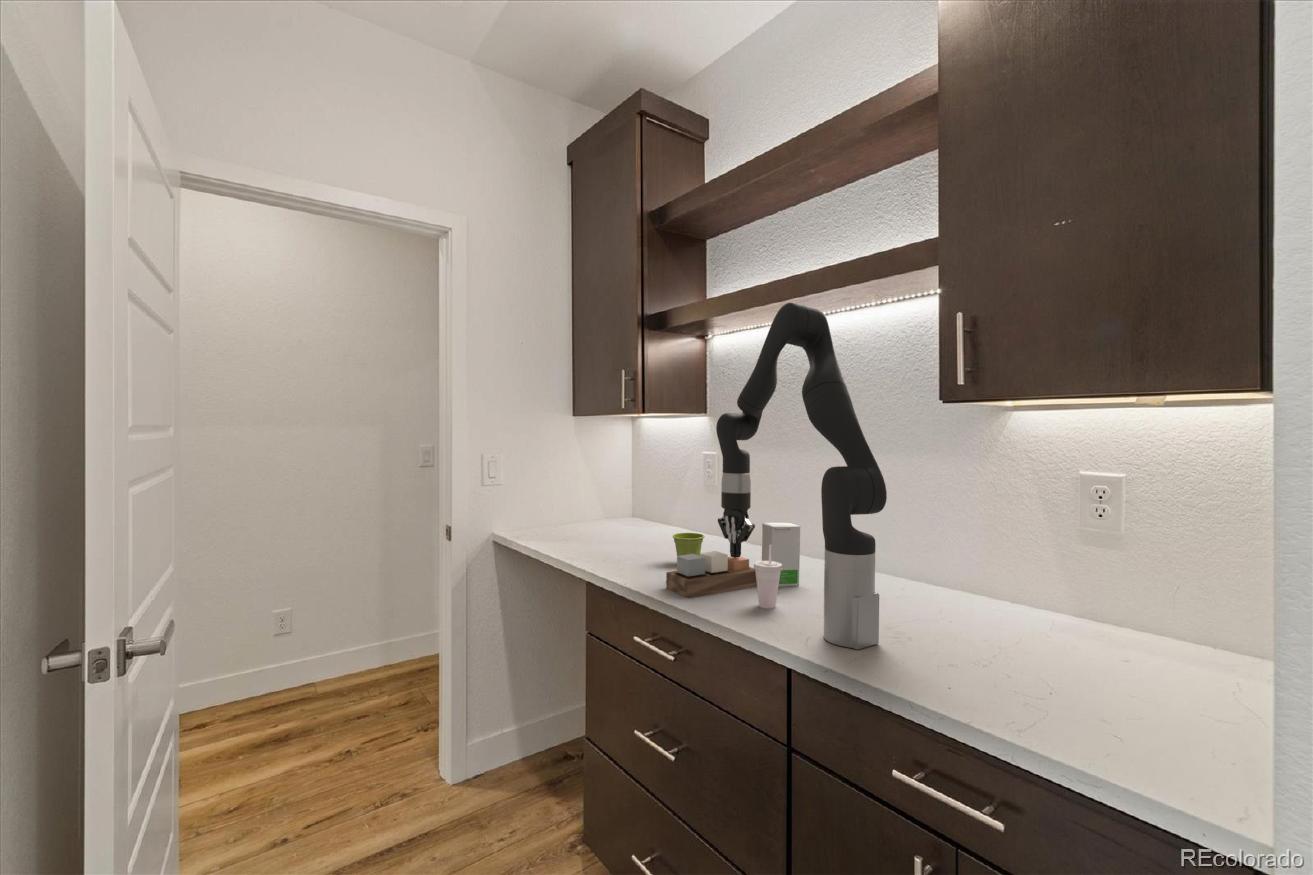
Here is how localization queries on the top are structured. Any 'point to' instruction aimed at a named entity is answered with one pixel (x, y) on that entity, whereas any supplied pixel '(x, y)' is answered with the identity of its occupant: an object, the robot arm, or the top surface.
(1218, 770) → the top surface
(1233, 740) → the top surface
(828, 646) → the top surface
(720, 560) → the key cream
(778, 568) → the smoothie
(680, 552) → the plant pot
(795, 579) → the skincare box
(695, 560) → the key slate
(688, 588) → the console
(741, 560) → the key rust
